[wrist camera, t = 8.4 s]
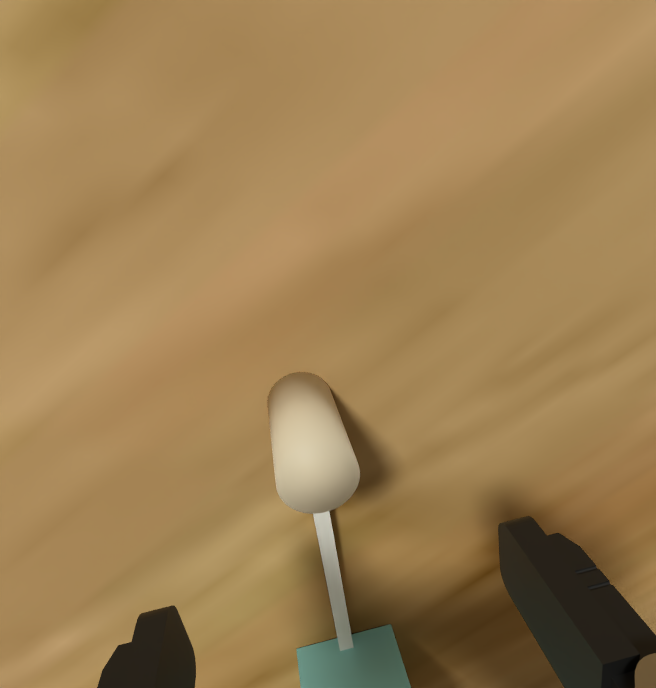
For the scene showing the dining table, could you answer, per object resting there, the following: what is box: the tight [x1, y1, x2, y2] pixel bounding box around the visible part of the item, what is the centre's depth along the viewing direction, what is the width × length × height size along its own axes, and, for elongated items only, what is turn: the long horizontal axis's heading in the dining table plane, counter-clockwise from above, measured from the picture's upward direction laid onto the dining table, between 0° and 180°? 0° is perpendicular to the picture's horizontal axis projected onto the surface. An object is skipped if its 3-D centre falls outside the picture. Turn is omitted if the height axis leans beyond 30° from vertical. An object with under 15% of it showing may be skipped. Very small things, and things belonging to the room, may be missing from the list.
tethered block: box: [268, 372, 411, 688], centre depth 19 cm, size 5×20×7 cm, turn 8°
